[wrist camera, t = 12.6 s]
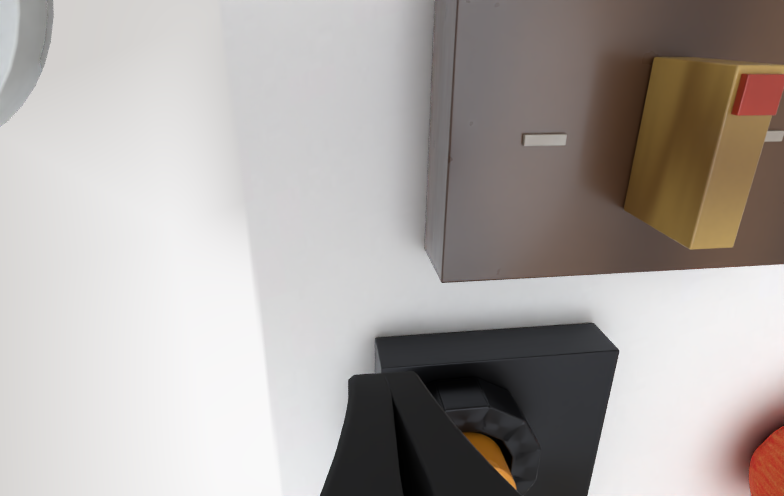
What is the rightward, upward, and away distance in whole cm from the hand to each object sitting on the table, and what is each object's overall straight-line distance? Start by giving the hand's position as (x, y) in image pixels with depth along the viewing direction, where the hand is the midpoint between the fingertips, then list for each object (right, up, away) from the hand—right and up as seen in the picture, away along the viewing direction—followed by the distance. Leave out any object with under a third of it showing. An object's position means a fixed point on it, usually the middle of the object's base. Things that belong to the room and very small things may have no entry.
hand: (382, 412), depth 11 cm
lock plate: (+9, +8, +9) cm, 15 cm away
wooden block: (+9, +7, +6) cm, 13 cm away
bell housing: (+4, -6, +15) cm, 16 cm away
